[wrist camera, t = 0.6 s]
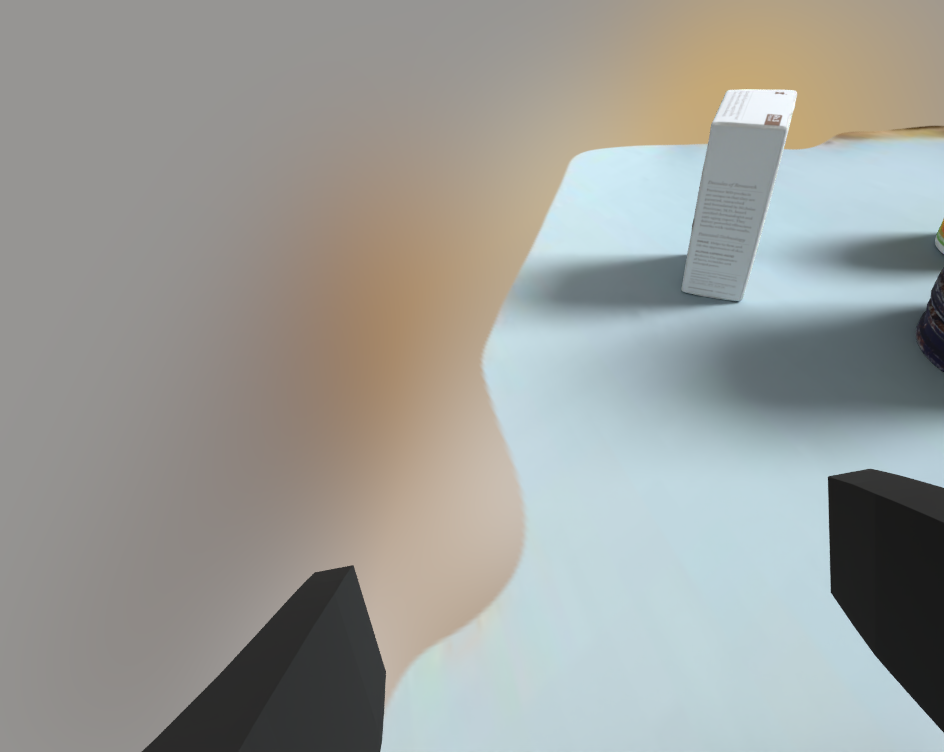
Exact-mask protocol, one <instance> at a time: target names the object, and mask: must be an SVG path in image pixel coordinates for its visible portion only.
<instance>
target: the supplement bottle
mask: <svg viewBox="0 0 944 752" xmlns="http://www.w3.org/2000/svg"><path fill="white" fill-rule="evenodd" d="M935 244H936V247H937V248H938V249H939V250H940V251H941V252H942V253H943V254H944V219H943V222H942V224H941V226H940V228H939V230H938V233H937V235H936V238H935Z"/></svg>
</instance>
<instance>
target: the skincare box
mask: <svg viewBox="0 0 944 752" xmlns="http://www.w3.org/2000/svg"><path fill="white" fill-rule="evenodd" d="M796 97H797V92H796V91H793V90H753V89H747V90H746V89H745V90H744V89H743V90H728V91H727V92H726V93H725V96H724V98H723V100H722V102H721V105H720V107H719V109H718V112H717V113H716V116H715V118H714V120H713V122H712V124H711V130H710V136H709V142H708V147H707V152H706V157H705V162H704V166H703V171H702V177H701V182H700V187H699V193H698V199H697V204H696V209H695V215H694V220H693V225H692V232H691V238H690V243H689V248H688V254H687V260H686V265H685V271H684V277H683V282H682V287H681V290H682V291H683V292H685V293H690V294H694V295H699V296H704V297H710V298H716V299H724V300H732V301H741V300H742V299H743V297H744V293H745V290H746V287H747V284H748V280H749V277H750V274H751V271H752V267H753V264H754V260H755V256H756V253H757V249H758V245H759V242H760V238H761V234H762V230H763V226H764V222H765V219H766V215H767V211H768V207H769V204H770V200H771V196H772V192H773V188H774V184H775V181H776V177H777V173H778V169H779V165H780V161H781V157H782V153H783V150H784V145H785V142H786V138H787V133H788V129H789V126H790V121H791V117H792V113H793V110H794V108H795V101H796Z"/></svg>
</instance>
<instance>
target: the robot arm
mask: <svg viewBox="0 0 944 752" xmlns="http://www.w3.org/2000/svg"><path fill="white" fill-rule="evenodd" d="M828 496H829V535H830V575H831V593H832V595H833V596H834V598H835V599H836V601H837V602H838V604H839V605H840V606H841V608H842V609H843V611H844V612H845V614H846V615H847V617H848V618H849V620H850V621H851V623H852V624H853V626H854V627H855V628H856V630H857V631H858V633H859V634H860V635H861V637H862V638H863V639H864V641H865V642H866V644H867V645H868V646H869V648H870V649H871V650H872V652H873V653H874V655H875V656H876V657H877V658H878V659H879V660H880V662H881V663H882V664H883V665H884V666H885V667H886V668H887V670H888V671H889V672H890V673H891V674H892V675H893V676H894V678H895V679H896V680H897V681H898V682H899V683H900V684H901V685H902V687H903V688H904V689H905V690H906V691H907V692H908V693H909V694H910V696H911V697H912V698H913V699H914V700H915V701H916V702H917V703H918V705H919V706H920V707H921V708H922V709H923V710H924V711H925V712H926V714H927V715H928V716H929V717H930V718H931V719H932V720H933V721H934V722H935V723H936V725H937V726H938V727H939V728H940V729H941V730H942V731H943V732H944V488H942V487H938V486H935V485H932V484H928V483H925V482H921V481H918V480H914V479H911V478H907V477H903V476H900V475H896V474H892V473H887V472H883V471H878V470H874V469H866V470H861V471H855V472H850V473H845V474H839V475H834V476H829V477H828ZM385 679H386V671H385V668H384V664H383V661H382V658H381V654H380V651H379V648H378V645H377V641H376V638H375V635H374V631H373V628H372V625H371V622H370V618H369V615H368V612H367V608H366V605H365V602H364V599H363V595H362V592H361V589H360V585H359V582H358V579H357V576H356V572H355V569H354V566H347V567H342V568H337V569H331V570H326V571H321V572H315V573H314V574H313V575H312V576H311V577H310V578H309V579H308V580H307V581H306V582H305V583H304V584H303V585H302V586H301V587H300V588H299V589H298V590H297V591H296V592H295V593H294V594H293V595H292V596H291V598H290V599H289V600H288V601H287V602H286V603H285V604H284V605H283V606H282V607H281V608H280V610H279V611H278V612H277V613H276V614H275V615H274V616H273V617H272V618H271V619H270V621H269V622H268V623H267V624H266V625H265V626H264V627H263V628H262V629H261V630H260V631H259V633H258V634H257V635H256V636H255V637H254V638H253V639H252V640H251V641H250V642H249V644H247V646H246V647H245V648H244V649H243V650H242V651H241V652H240V653H239V654H238V655H237V656H236V657H235V658H234V660H233V661H232V662H231V663H230V664H229V665H228V666H227V667H226V668H225V669H224V671H222V672H221V673H220V675H219V676H218V677H217V678H216V679H215V680H214V681H213V682H212V683H211V684H210V685H209V686H208V687H207V688H206V689H205V690H204V691H203V692H202V693H201V694H200V695H199V696H198V697H197V698H196V699H195V700H194V701H193V702H192V703H191V704H190V705H189V706H188V707H187V708H186V709H185V710H184V711H183V712H182V713H181V714H180V715H179V716H178V717H177V718H176V719H175V720H174V721H173V722H172V723H171V724H170V725H169V726H168V727H167V728H166V729H165V730H164V731H163V732H162V733H161V734H160V735H159V736H158V737H157V738H156V739H155V740H154V741H153V742H152V743H151V744H149V746H147V747H146V748H145V749H144V750H143V751H142V752H380V750H381V744H382V732H383V718H384V700H385Z"/></svg>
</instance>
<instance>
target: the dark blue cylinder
mask: <svg viewBox="0 0 944 752" xmlns="http://www.w3.org/2000/svg"><path fill="white" fill-rule="evenodd" d="M916 340H917V343H918V345H919V347H920V349H921V350H922V352H923V353H924V354H925V356H926V357H927V358H928V359H929V360H930V361H931V362H932V363H933V364H934V365H935V366H937V367H938V368H939V369H940V370H942V371H943V372H944V268H943V269H942V271H941V272H940V274H939V276H938V278H937V280H936V282H935V284H934V287H933V288H932V290H931V298H930V300H929V302H928V304H927V310H926V311H925V312H924V313H923V315H922V317H921V319H920V321H919V323H918V325H917V327H916Z"/></svg>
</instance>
